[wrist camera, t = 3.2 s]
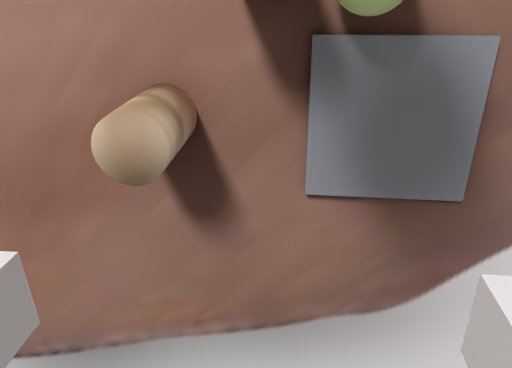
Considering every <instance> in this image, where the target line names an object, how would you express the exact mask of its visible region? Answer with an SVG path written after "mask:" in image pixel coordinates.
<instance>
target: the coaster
mask: <svg viewBox="0 0 512 368" xmlns="http://www.w3.org/2000/svg"><path fill="white" fill-rule="evenodd" d="M500 38H501V36H498V35H402V34H313V35H312V56H311V77H310V97H309V118H308V138H307V159H306V179H305V194H307V195H329V196H352V197H374V198H397V199H419V200H442V201H463V198H464V194H465V189H466V185H467V181H468V176H469V172H470V168H471V163H472V159H473V155H474V150H475V146H476V142H477V137H478V133H479V129H480V124H481V120H482V116H483V111H484V107H485V103H486V98H487V94H488V90H489V86H490V81H491V77H492V73H493V68H494V64H495V60H496V55H497V51H498V47H499V42H500Z"/></svg>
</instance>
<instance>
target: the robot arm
mask: <svg viewBox="0 0 512 368" xmlns="http://www.w3.org/2000/svg"><path fill="white" fill-rule="evenodd" d="M39 323H40V321H39V318H38V314H37V311H36V308H35V305H34V302H33V298H32V295H31V292H30V289H29V286H28V283H27V279H26V276H25V273H24V270H23V267H22V263H21V260H20V257H19V254H18V252H6V251H0V368H5V367H6V366H7V365H8V363H9V362H10V361H11V360H12V358H13V357H14V356H15V354H16V353H17V352H18V351H19V349H20V348H21V347H22V345H23V344H24V343H25V341H26V340H27V339H28V338H29V336H30V335H31V334H32V332H33V331H34V330H35V328H36V327H37V326H38V325H39ZM461 351H462V354H463V356H464V359H465V361H466V363H467V366H468V368H512V276H506V275H485V274H481V275H480V279H479V283H478V287H477V290H476V294H475V298H474V302H473V306H472V309H471V314H470V317H469V321H468V325H467V329H466V332H465V336H464V340H463V344H462V348H461Z"/></svg>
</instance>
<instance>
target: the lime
mask: <svg viewBox="0 0 512 368" xmlns="http://www.w3.org/2000/svg"><path fill="white" fill-rule="evenodd" d="M337 1H338V2H339V3H340V4H341V5H342V6H343V7H344V8H345V9H347V10H348V11H350V12H352V13H354V14H357V15H361V16H376V15H381V14H384V13H386V12H388V11H390V10H392V9H393V8H395V7H396V6H398V5H399V4H400V3H401V2H402V1H403V0H337Z"/></svg>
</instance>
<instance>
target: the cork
mask: <svg viewBox="0 0 512 368" xmlns="http://www.w3.org/2000/svg"><path fill="white" fill-rule="evenodd" d="M196 123H197V113H196V109H195V106H194V103H193V102H192V100H191V99H190V97H189V96H188V95H187V94H186V93H185V92H184V91H183V90H181V89H180V88H178V87H176V86H173V85H169V84H157V85H153V86H151V87H149V88H147V89H146V90H144V91H143V92H141V93H140V94H138V95H137V96H135V97H134V98H132V99H131V100H129V101H128V102H126V103H125V104H123V105H122V106H120V107H119V108H117V109H116V110H114V111H113V112H111V113H110V114H108V115H107V116H105V117H104V118H103V119H101V120H100V121H99V122H98V123H97V125H96V126H95V128H94V130H93V133H92V137H91V148H92V152H93V156H94V158H95V160H96V162H97V164H98V165H99V167H100V168H101V169H102V170H103V171H104V172H105V173H106V174H107V175H108V176H109V177H111V178H112V179H114V180H116V181H118V182H120V183H123V184H126V185H132V186H140V185H145V184H148V183H151V182H153V181H154V180H156V179H157V178H158V177H159V176H160V175H161V174H162V172H163V171H164V170H165V168H166V167H167V166H168V164H169V163H170V162H171V161H172V159H173V158H174V157H175V155H176V154H177V153H178V151H179V150H180V149H181V147H182V146H183V145H184V143H185V142H186V141H187V140H188V138H189V137H190V136H191V134H192V133H193V131H194V129H195V127H196Z"/></svg>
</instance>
